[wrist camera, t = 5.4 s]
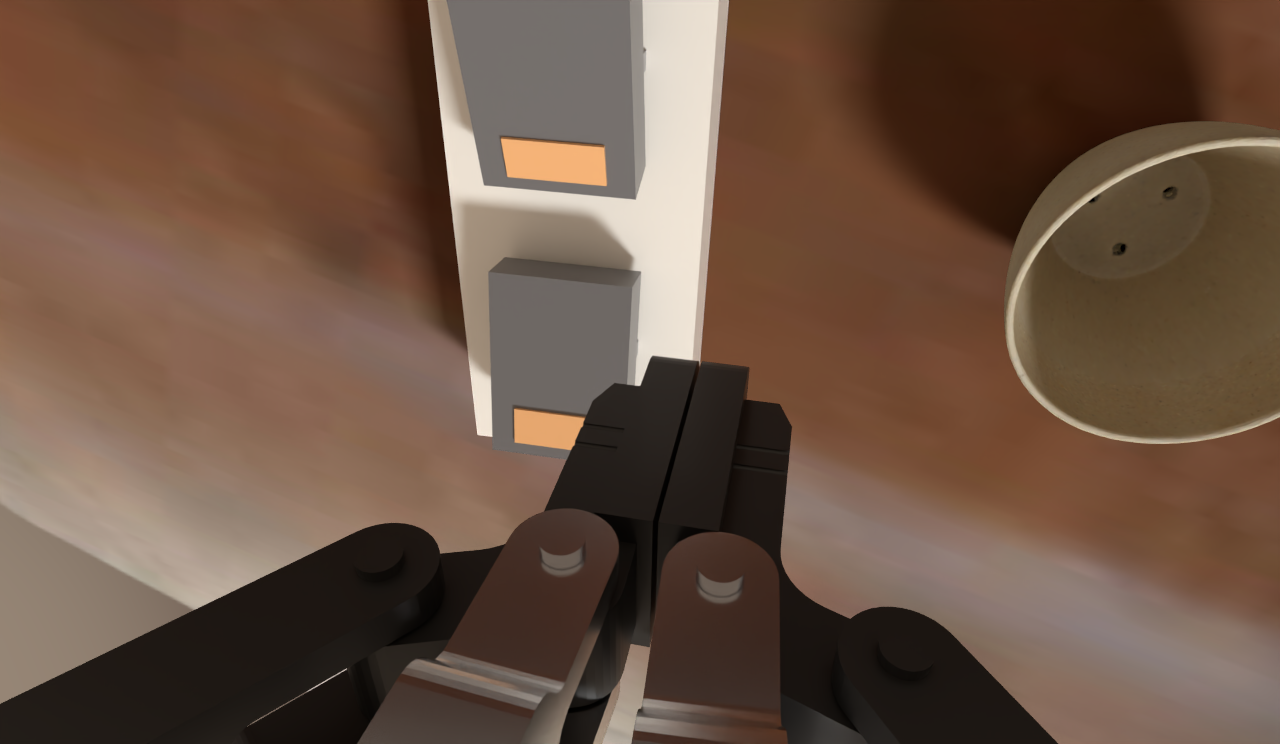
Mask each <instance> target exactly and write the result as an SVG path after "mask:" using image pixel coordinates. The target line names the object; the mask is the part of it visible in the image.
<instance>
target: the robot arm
mask: <svg viewBox="0 0 1280 744" xmlns="http://www.w3.org/2000/svg"><path fill="white" fill-rule="evenodd" d="M748 379H749V367H744V366H736V365H728V364H720V363H712V362H704V361H702V363H701V366H699V361H694V360H686V359H678V358H669V357H661V356H652V357H651V358H650V361H649V363H648V366H647V369H646V372H645V374H644V377H643V380H642V382H641V385H640V386H635V385H627V384H619V383H614V384H613V385H611V386H610V387H609V388H608V389H606V390H605V391H604V392H603V393H602V394H600V395H599V396H598V397H597V398H595V399H594V400H593V401H592V404H591V406H590V408H589V410H588V413H587V415H586V417H585V420H584V422H583V427H581V429H580V431H579V433H578V436H577V438H576V440H575V445H574V446H573V447H572V449H571V451H570V454H569V456H568V458H567V461H566V463H565V465H564V467H563V470H562V472H561V474H560V476H559V479H558V481H557V483H556V486H555V488H554V490H553V492H552V495H551V497H550V499H549V502H548V504H547V506H546V508H545V511H544V512H542V513H539V514H536V515H534V516H532V517H530V518H528V519H527V520H525V521H524V522H523V523H521V524H520V525H519V526H518V527H517V528H516V529H515V530H514V532H513V533H512V534H511V536H510V537H509V539H508V541H507V543H506V544H504V545H501V546H497V547H494V548H489V549H483V550H474V551H463V552H453V553H443V554H440V551H439V548H438V545H437V543H436V541H435V540H434V538H433V537H432V536H431V535H430V534H429V533H428V532H426V531H424V530H423V529H421V528H418V527H416V526H413V525H409V524H403V523H385V524H380V525H374V526H371V527H368V528H365V529H362V530H360V531H357V532H355V533H353V534H351V535H349V536H347V537H345V538H343V539H341V540H339V541H336V542H334V543H332V544H330V545H328V546H326V547H324V548H322V549H320V550H318V551H316V552H314V553H312V554H310V555H307V556H305V557H303V558H301V559H299V560H297V561H295V562H293V563H291V564H289V565H287V566H285V567H283V568H281V569H278V570H276V571H274V572H272V573H270V574H268V575H266V576H264V577H262V578H260V579H258V580H256V581H254V582H252V583H250V584H247V585H245V586H243V587H241V588H239V589H237V590H235V591H233V592H231V593H229V594H227V595H225V596H223V597H221V598H218V599H216V600H214V601H212V602H210V603H208V604H206V605H204V606H202V607H200V608H198V609H196V610H194V611H192V612H189V613H187V614H185V615H183V616H181V617H179V618H177V619H175V620H173V621H171V622H169V623H167V624H165V625H163V626H161V627H159V628H156V629H154V630H152V631H150V632H148V633H146V634H144V635H142V636H140V637H138V638H136V639H134V640H132V641H130V642H127V643H126V644H123V645H121V646H119V647H117V648H115V649H113V650H111V651H109V652H107V653H105V654H103V655H100V656H98V657H97V658H94V659H92V660H90V661H88V662H86V663H84V664H82V665H80V666H78V667H76V668H74V669H72V670H70V671H67V672H65V673H64V674H61V675H59V676H57V677H55V678H53V679H51V680H49V681H47V682H45V683H43V684H40V685H39V686H36V687H34V688H32V689H30V690H28V691H26V692H24V693H22V694H20V695H18V696H16V697H14V698H11V699H9V700H8V701H5V702H3V703H1V704H0V744H602V742H603V739H604V737H605V734H606V731H607V728H608V725H609V722H610V720H611V717H612V714H613V711H614V708H615V705H616V703H617V700H618V696H619V692H620V679H621V676H622V674H623V671H624V667H625V663H626V660H627V656H628V652H629V648H630V644H635V645H641V646H646V647H650V643H651V648H650V655H649V662H648V669H647V676H646V682H645V689H644V696H643V702H642V707H641V709H638V712H637V716H636V720H635V726H634V731H633V738H632V744H1058V743H1057V742H1056V741H1055V740H1054V739H1053V738H1052V737H1051V736H1050V735H1049V734H1048V733H1047V732H1046V731H1045V730H1044V729H1043V728H1042V727H1041V726H1040V725H1039V723H1038V722H1037V721H1036V720H1035V719H1034V718H1033V717H1032V716H1031V715H1030V714H1029V713H1028V712H1027V711H1026V710H1025V709H1024V708H1023V707H1022V706H1021V705H1020V704H1019V703H1018V702H1017V701H1016V700H1015V699H1014V698H1013V697H1012V696H1011V695H1010V694H1009V693H1008V692H1007V691H1006V689H1005V688H1004V687H1003V686H1002V685H1001V684H1000V683H999V682H998V681H997V680H996V679H995V678H994V677H993V676H992V675H991V674H990V673H989V672H988V671H987V670H986V669H985V668H984V667H983V666H982V665H981V664H980V663H979V662H978V661H977V660H976V659H975V658H974V657H973V655H972V654H971V653H970V652H969V651H968V650H967V649H966V648H965V647H964V646H963V645H962V644H961V643H960V642H959V641H958V640H957V639H956V638H955V637H954V636H953V635H952V634H951V633H950V632H949V631H948V630H947V629H945V628H944V627H943V626H941V625H940V624H939V623H937V622H936V621H934V620H932V619H930V618H929V617H927V616H925V615H922V614H920V613H917V612H915V611H912V610H908V609H904V608H897V607H877V608H871V609H868V610H865V611H862V612H860V613H859V614H857V615H855V616H854V617H852V618H851V619H849V618H847V617H845V616H843V615H840V614H838V613H836V612H834V611H831V610H829V609H827V608H825V607H823V606H821V605H819V604H817V603H815V602H814V601H812V600H811V599H809V598H808V597H807V596H805V595H804V594H803V593H802V592H801V591H800V590H798V589H797V588H796V586H795V585H794V584H793V583H792V582H791V580H790V579H789V577H788V576H787V574H786V572H785V570H784V568H783V565H782V561H781V550H780V549H781V538H782V527H783V516H784V506H785V495H786V484H787V473H788V463H789V452H790V441H791V430H792V426H791V424H790V423H789V421H788V419H787V417H786V415H785V413H784V411H783V409H782V407H781V406H780V404H776V403H768V402H760V401H752V400H746V399H747V389H748ZM651 639H652V641H651ZM346 668H347V670H345V671H344V672H342V673H340V674H338V675H337V676H335V677H333V678H332V679H330V680H328V681H326V682H325V683H323V684H321V685H319V686H318V687H316V688H314V689H312V690H311V691H309V692H307V693H305V694H304V695H302V696H300V697H298V698H297V699H295V700H293V701H291V702H290V703H288V704H286V705H284V706H283V707H281V708H279V709H278V710H276V711H274V712H272V713H271V714H269V715H267V716H265V717H264V718H262V719H260V720H258V721H257V722H255V723H253V724H251V723H252V722H254V721H255V720H257V719H259V718H260V717H262V716H264V715H266V714H268V713H269V712H271V711H273V710H274V709H276V708H278V707H279V706H281V705H283V704H285V703H287V702H288V701H290V700H292V699H294V698H295V697H297V696H299V695H301V694H302V693H304V692H306V691H308V690H309V689H311V688H313V687H315V686H316V685H318V684H320V683H322V682H323V681H325V680H327V679H329V678H330V677H332V676H334V675H336V674H337V673H339V672H341V671H343V670H344V669H346ZM249 724H251V725H249ZM248 725H249V726H248ZM247 726H248V727H247Z"/></svg>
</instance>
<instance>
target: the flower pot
mask: <svg viewBox="0 0 1280 744" xmlns="http://www.w3.org/2000/svg"><path fill="white" fill-rule="evenodd" d="M1170 187H1172V188H1171V189H1170V190H1168V191H1166V192H1164V190H1166V189H1167V188H1170ZM1092 198H1094V199H1095V201H1094V202H1088V201H1089V200H1091V199H1092ZM1123 244H1125V251H1124V252H1122V251H1121V250H1120V247H1121V246H1122V245H1123ZM1004 323H1005V335H1006V341H1007V347H1008V351H1009V355H1010V358H1011V361H1012V364H1013V366H1014V368H1015V370H1016V373H1017V375H1018V376H1019V378H1020V380H1021V381H1022V383H1023V384H1024V386H1025V387H1026V388H1027V390H1028V391H1029V392H1030V394H1031V395H1032V396H1033V397H1034V398H1035V399H1036V400H1037V401H1038V402H1039V403H1040V404H1041V405H1042V406H1043V407H1045V408H1046V409H1047V410H1049V411H1050V412H1051V413H1052V414H1054V415H1055V416H1056V417H1058V418H1060V419H1061V420H1063V421H1065V422H1067V423H1069V424H1070V425H1072V426H1075V427H1077V428H1079V429H1081V430H1084V431H1087V432H1090V433H1093V434H1096V435H1099V436H1103V437H1107V438H1111V439H1115V440H1121V441H1129V442H1136V443H1151V444H1168V443H1186V442H1195V441H1202V440H1208V439H1213V438H1218V437H1222V436H1227V435H1231V434H1235V433H1238V432H1242V431H1245V430H1248V429H1251V428H1254V427H1257V426H1259V425H1262V424H1264V423H1267V422H1269V421H1272V420H1274V419H1276V418H1279V417H1280V131H1279V130H1275V129H1270V128H1265V127H1260V126H1255V125H1248V124H1240V123H1230V122H1216V121H1196V122H1179V123H1169V124H1163V125H1157V126H1152V127H1148V128H1144V129H1140V130H1136V131H1133V132H1129V133H1126V134H1123V135H1120V136H1118V137H1115V138H1113V139H1111V140H1108V141H1106V142H1104V143H1102V144H1100V145H1098V146H1096V147H1094V148H1092V149H1091V150H1089V151H1087V152H1086V153H1084V154H1083V155H1081V156H1080V157H1078V158H1077V159H1076V160H1074V161H1073V162H1072V163H1070V164H1069V165H1068V166H1067V167H1066V168H1065V169H1063V170H1062V171H1061V172H1060V173H1059V174H1058V175H1057V176H1056V177H1055V178H1054V179H1053V180H1052V182H1051V183H1050V184H1049V185H1048V186H1047V187H1046V188H1045V190H1044V191H1043V192H1042V193H1041V195H1040V196H1039V197H1038V199H1037V200H1036V202H1035V204H1034V205H1033V207H1032V208H1031V210H1030V212H1029V213H1028V215H1027V217H1026V219H1025V221H1024V223H1023V225H1022V227H1021V230H1020V232H1019V235H1018V237H1017V239H1016V242H1015V245H1014V249H1013V252H1012V256H1011V260H1010V264H1009V268H1008V274H1007V280H1006V288H1005V301H1004Z"/></svg>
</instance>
